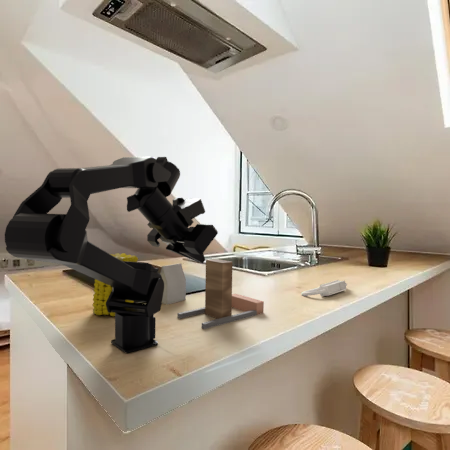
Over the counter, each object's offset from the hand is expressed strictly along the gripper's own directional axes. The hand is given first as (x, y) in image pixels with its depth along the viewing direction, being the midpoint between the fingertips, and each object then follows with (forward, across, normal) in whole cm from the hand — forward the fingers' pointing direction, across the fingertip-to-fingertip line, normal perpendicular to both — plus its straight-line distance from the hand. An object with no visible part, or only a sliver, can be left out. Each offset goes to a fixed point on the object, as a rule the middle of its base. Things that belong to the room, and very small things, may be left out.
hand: (201, 261), depth 81 cm
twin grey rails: (+14, 0, +5) cm, 15 cm away
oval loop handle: (+43, -2, -23) cm, 49 cm away
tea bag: (+13, +18, +7) cm, 23 cm away
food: (+1, +18, +18) cm, 26 cm away
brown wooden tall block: (+13, 0, +6) cm, 14 cm away
